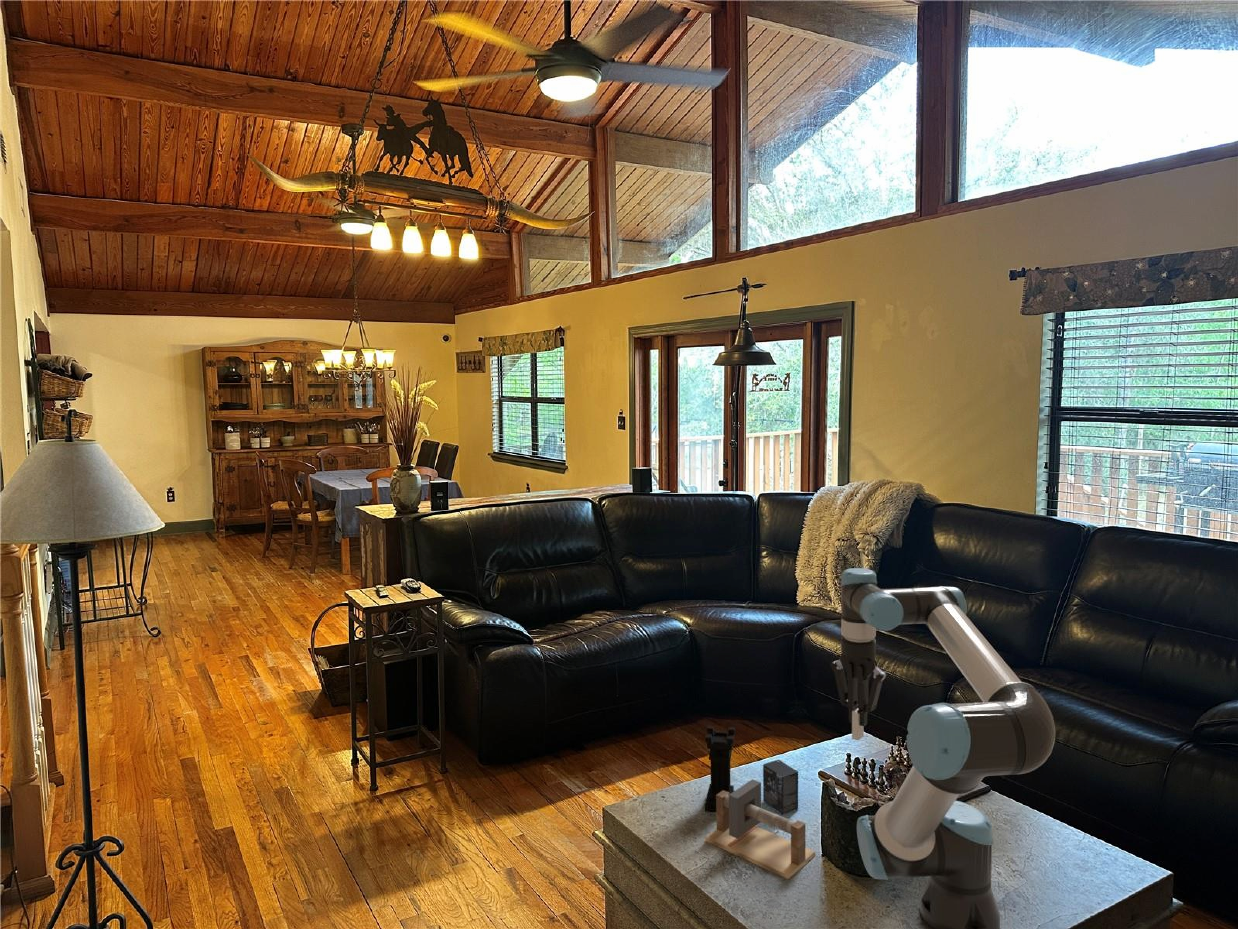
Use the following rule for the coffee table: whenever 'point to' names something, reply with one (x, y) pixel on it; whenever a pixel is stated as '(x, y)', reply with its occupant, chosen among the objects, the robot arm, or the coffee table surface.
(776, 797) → the box
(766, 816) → the pipe rig
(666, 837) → the coffee table surface
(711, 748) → the chess piece
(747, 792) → the ring
